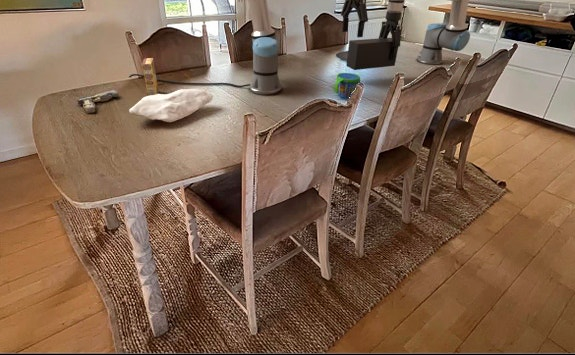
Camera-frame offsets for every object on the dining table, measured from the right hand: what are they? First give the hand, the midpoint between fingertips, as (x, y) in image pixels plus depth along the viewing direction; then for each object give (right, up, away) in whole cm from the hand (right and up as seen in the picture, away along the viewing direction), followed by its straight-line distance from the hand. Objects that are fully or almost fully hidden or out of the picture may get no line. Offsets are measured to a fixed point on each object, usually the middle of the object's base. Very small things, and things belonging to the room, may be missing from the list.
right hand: (386, 57), depth 194 cm
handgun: (-133, -33, -39) cm, 142 cm away
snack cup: (-25, -26, -21) cm, 42 cm away
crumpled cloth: (-100, -38, -45) cm, 116 cm away
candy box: (-115, -26, -27) cm, 121 cm away
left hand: (-21, +6, -16) cm, 27 cm away
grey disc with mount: (-4, +14, +42) cm, 44 cm away
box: (-9, -5, -1) cm, 10 cm away
